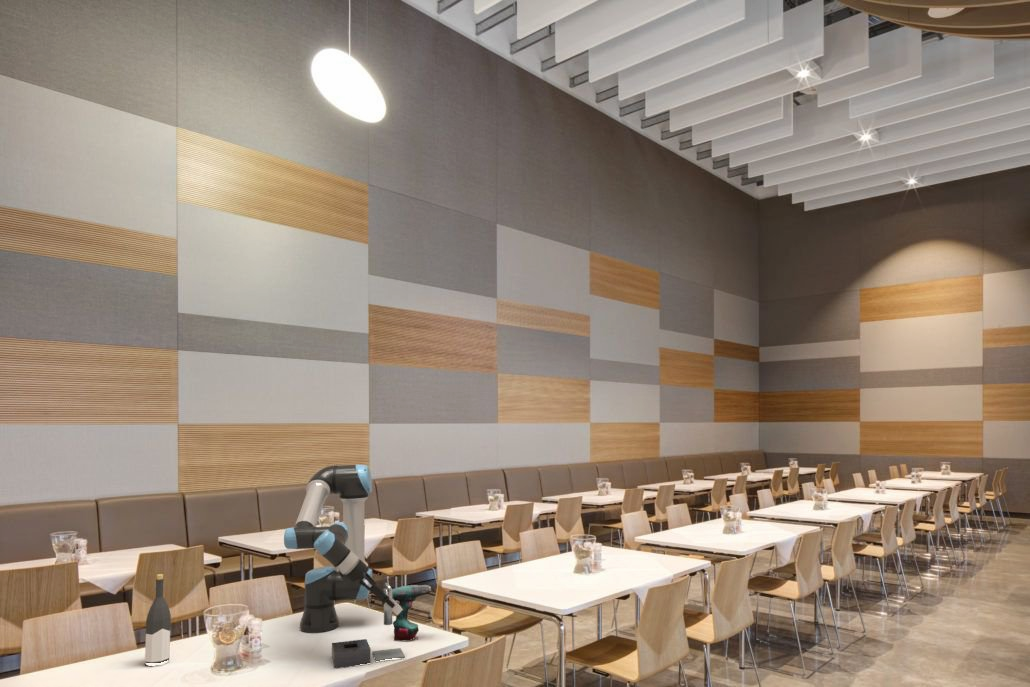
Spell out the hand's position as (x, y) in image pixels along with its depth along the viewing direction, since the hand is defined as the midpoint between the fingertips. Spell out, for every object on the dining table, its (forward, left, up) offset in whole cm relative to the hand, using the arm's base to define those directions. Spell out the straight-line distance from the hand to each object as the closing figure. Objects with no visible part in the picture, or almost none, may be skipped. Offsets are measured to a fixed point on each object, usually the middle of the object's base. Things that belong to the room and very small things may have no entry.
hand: (399, 610), depth 254 cm
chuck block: (0, -17, -15) cm, 23 cm away
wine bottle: (-24, -81, -15) cm, 86 cm away
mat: (0, -4, -15) cm, 15 cm away
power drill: (-17, +7, -15) cm, 24 cm away
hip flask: (0, -4, -4) cm, 6 cm away
